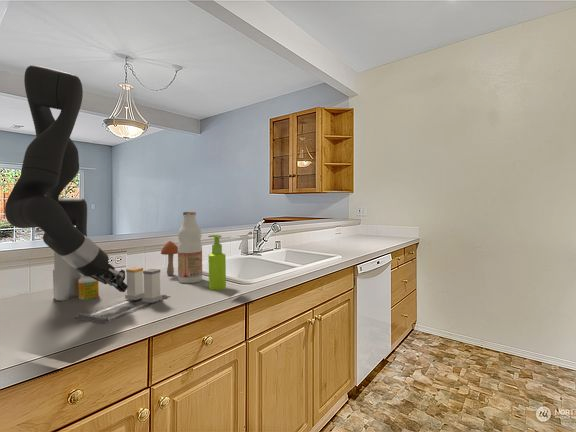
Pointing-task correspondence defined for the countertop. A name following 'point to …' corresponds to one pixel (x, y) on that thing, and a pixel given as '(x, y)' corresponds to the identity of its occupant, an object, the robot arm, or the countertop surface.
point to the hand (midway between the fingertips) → (124, 289)
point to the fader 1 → (134, 283)
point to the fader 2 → (151, 285)
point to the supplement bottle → (88, 288)
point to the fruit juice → (189, 250)
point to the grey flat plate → (116, 310)
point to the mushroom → (170, 255)
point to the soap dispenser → (217, 266)
